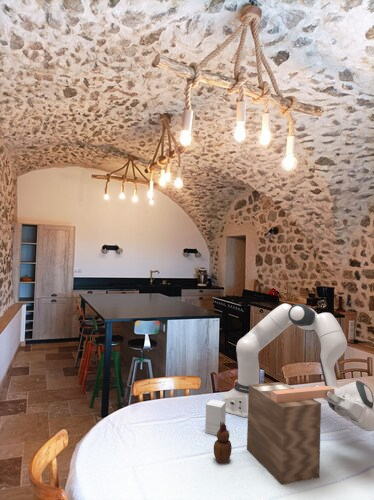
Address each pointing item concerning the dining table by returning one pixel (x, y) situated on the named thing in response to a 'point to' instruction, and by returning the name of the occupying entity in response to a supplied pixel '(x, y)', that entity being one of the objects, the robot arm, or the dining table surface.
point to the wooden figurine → (222, 444)
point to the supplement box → (214, 416)
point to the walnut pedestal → (284, 434)
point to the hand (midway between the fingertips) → (322, 390)
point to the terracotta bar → (301, 394)
